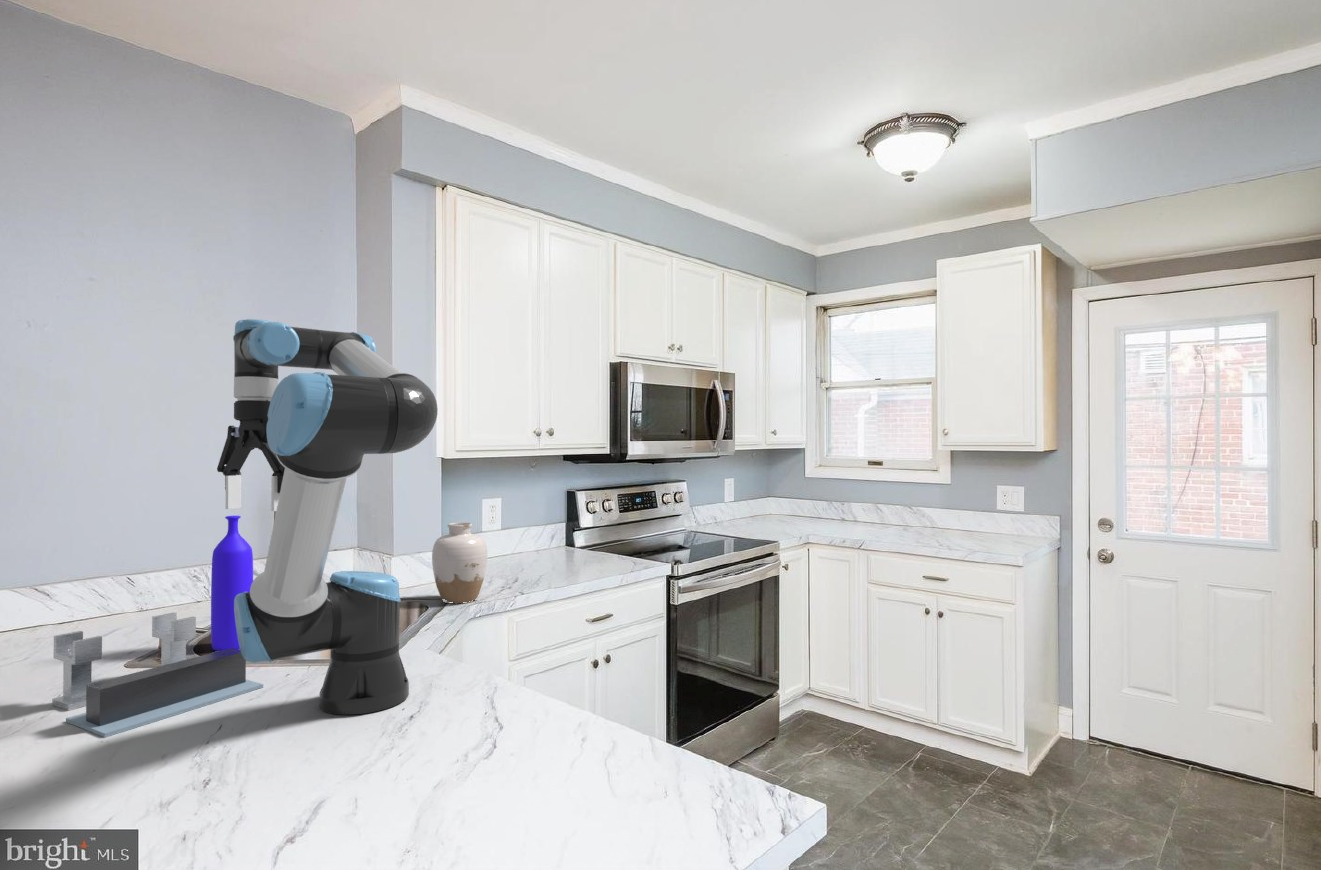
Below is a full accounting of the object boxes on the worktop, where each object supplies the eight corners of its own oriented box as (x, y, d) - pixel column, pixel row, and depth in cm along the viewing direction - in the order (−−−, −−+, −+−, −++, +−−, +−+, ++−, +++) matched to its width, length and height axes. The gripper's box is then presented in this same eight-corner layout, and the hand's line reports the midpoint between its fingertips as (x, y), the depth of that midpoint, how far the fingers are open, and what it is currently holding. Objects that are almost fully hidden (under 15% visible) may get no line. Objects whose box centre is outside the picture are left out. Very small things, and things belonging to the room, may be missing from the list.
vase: (457, 609, 198) (458, 528, 198) (420, 602, 206) (420, 524, 206) (498, 598, 211) (498, 522, 211) (461, 592, 220) (461, 519, 220)
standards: (197, 676, 141) (198, 616, 141) (71, 711, 122) (71, 642, 122) (175, 670, 144) (176, 611, 145) (49, 703, 126) (50, 636, 126)
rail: (231, 678, 138) (232, 647, 138) (245, 682, 136) (245, 651, 136) (86, 721, 117) (86, 684, 117) (99, 726, 115) (99, 689, 115)
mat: (263, 687, 135) (263, 684, 135) (104, 737, 112) (104, 733, 112) (223, 676, 141) (223, 673, 141) (65, 721, 118) (65, 718, 118)
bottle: (233, 652, 157) (234, 518, 157) (201, 650, 158) (202, 517, 159) (261, 642, 165) (262, 514, 165) (230, 640, 166) (232, 513, 167)
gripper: (317, 399, 135) (317, 509, 134) (234, 403, 145) (233, 506, 145) (281, 396, 128) (281, 513, 127) (197, 401, 139) (196, 508, 138)
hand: (255, 509), depth 136 cm, fingers open, 13 cm apart
